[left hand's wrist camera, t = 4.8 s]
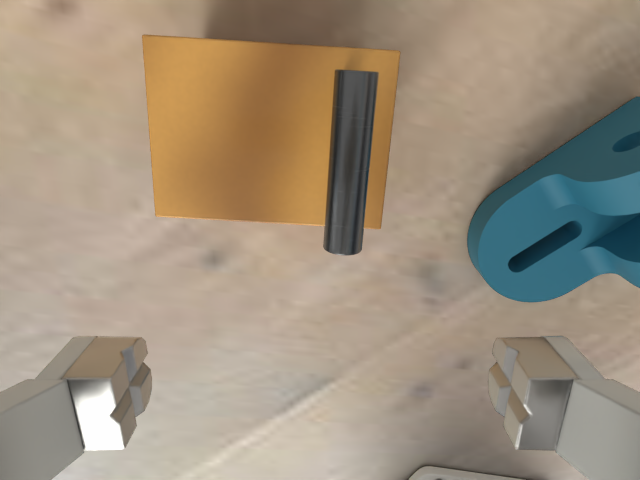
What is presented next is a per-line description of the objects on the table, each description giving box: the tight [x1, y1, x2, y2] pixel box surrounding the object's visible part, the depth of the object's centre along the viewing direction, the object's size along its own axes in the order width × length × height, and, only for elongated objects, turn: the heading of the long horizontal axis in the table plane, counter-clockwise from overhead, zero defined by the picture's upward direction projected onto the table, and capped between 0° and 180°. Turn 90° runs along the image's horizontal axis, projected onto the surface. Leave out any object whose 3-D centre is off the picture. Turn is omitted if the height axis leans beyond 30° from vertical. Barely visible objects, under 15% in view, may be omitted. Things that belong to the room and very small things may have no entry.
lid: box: [142, 35, 400, 255], centre depth 23 cm, size 14×10×8 cm
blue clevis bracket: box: [467, 96, 640, 302], centre depth 35 cm, size 18×10×10 cm, turn 127°
